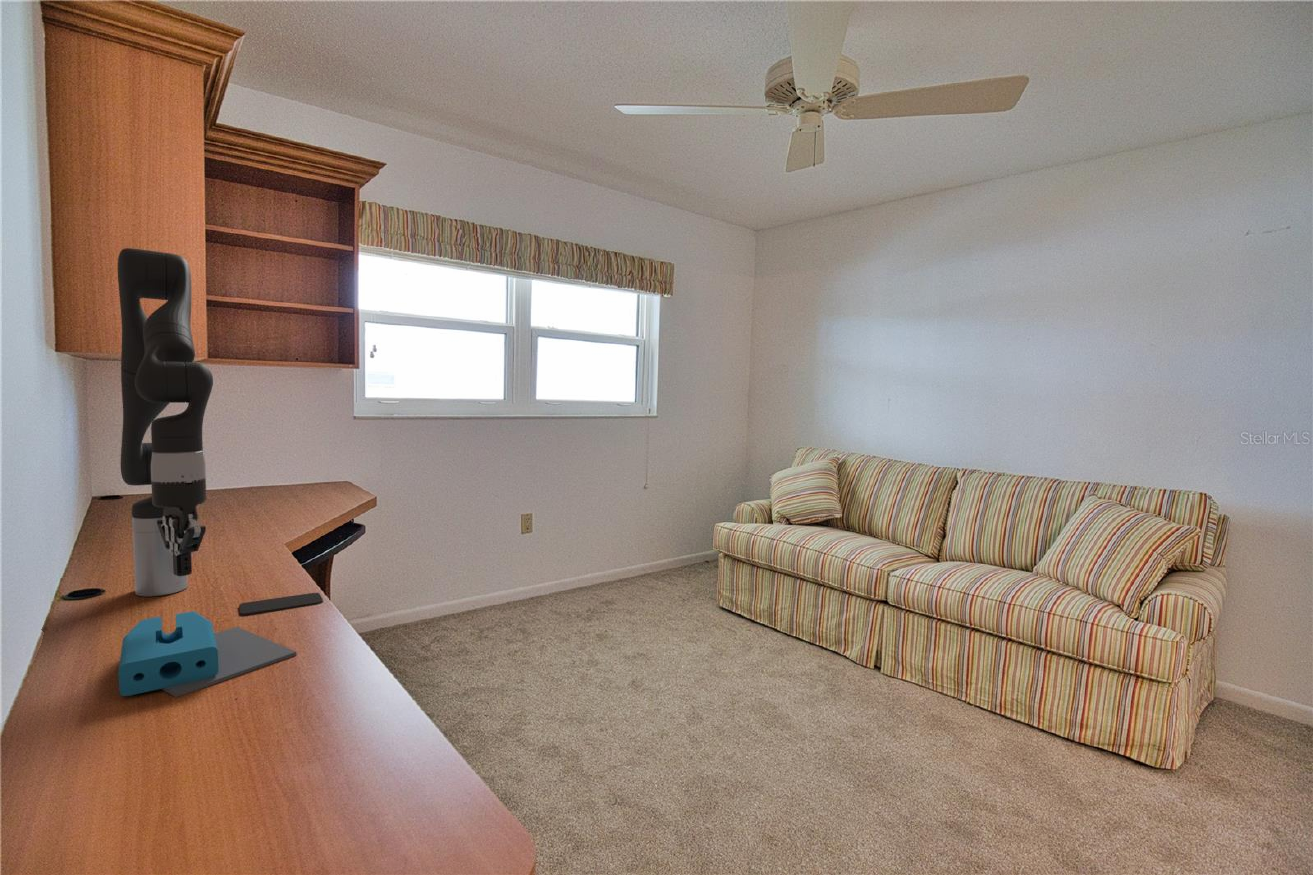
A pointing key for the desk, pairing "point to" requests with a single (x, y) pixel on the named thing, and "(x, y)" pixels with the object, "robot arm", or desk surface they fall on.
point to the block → (167, 654)
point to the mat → (237, 658)
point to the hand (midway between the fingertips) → (182, 574)
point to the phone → (279, 604)
